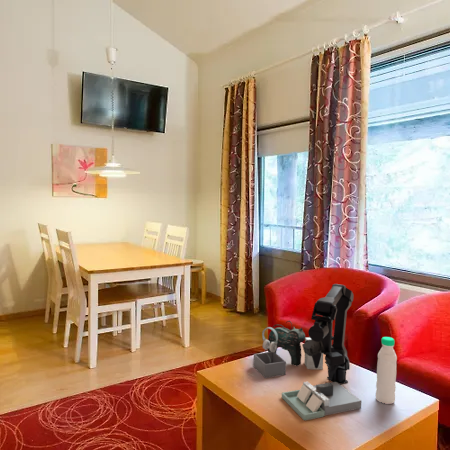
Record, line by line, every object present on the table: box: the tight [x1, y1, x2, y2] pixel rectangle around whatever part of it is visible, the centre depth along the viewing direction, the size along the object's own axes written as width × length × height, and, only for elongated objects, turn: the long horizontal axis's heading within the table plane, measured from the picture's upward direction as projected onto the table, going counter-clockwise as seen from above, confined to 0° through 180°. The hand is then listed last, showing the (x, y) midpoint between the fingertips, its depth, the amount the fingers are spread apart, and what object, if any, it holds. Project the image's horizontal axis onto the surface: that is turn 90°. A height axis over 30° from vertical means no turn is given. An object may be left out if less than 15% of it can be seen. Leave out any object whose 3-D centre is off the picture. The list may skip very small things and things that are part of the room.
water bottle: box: [375, 336, 398, 405], centre depth 157 cm, size 7×7×25 cm
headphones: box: [261, 326, 278, 364], centre depth 182 cm, size 8×4×20 cm, turn 46°
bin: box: [281, 389, 326, 421], centre depth 153 cm, size 8×17×2 cm, turn 20°
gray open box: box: [253, 351, 287, 379], centre depth 183 cm, size 10×12×6 cm
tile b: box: [306, 394, 322, 412], centre depth 150 cm, size 5×5×1 cm
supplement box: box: [304, 337, 324, 370], centre depth 188 cm, size 7×7×13 cm
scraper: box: [302, 380, 333, 407], centre depth 155 cm, size 8×15×4 cm, turn 20°
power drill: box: [267, 320, 306, 367], centre depth 194 cm, size 20×6×20 cm, turn 43°
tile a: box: [297, 384, 311, 403], centre depth 157 cm, size 5×5×1 cm
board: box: [309, 382, 362, 416], centre depth 157 cm, size 16×16×3 cm
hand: (323, 372), depth 155 cm, fingers open, 9 cm apart
